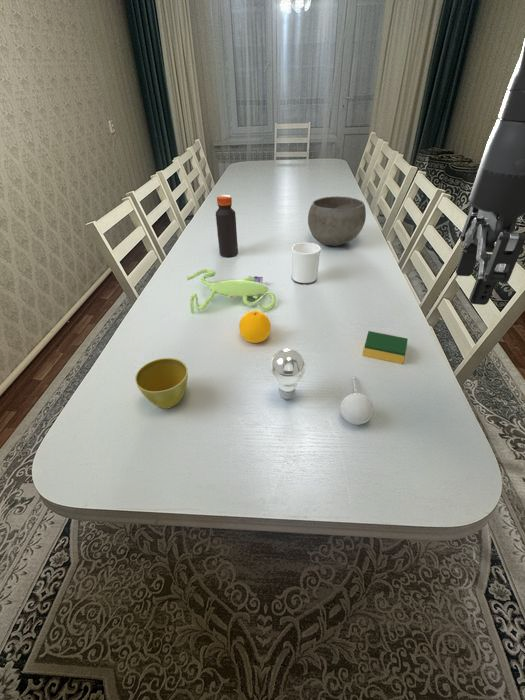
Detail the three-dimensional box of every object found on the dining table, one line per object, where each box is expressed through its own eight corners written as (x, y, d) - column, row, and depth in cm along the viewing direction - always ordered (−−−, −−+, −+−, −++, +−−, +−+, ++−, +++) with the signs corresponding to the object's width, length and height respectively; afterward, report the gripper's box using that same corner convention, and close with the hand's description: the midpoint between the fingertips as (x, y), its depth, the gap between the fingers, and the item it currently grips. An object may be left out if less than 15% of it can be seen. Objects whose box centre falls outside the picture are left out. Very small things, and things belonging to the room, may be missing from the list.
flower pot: (171, 376, 80) (165, 351, 76) (202, 396, 75) (198, 370, 71) (133, 402, 74) (124, 376, 70) (164, 426, 69) (156, 400, 65)
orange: (235, 333, 93) (233, 308, 88) (264, 326, 95) (263, 301, 90) (245, 350, 87) (244, 325, 82) (275, 343, 89) (276, 317, 84)
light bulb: (267, 388, 77) (266, 343, 69) (298, 383, 77) (301, 339, 70) (273, 412, 71) (273, 367, 64) (307, 407, 72) (311, 361, 65)
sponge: (404, 349, 86) (407, 338, 84) (402, 364, 82) (405, 353, 80) (366, 341, 89) (368, 330, 87) (362, 355, 84) (364, 345, 82)
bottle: (235, 258, 129) (231, 200, 116) (217, 257, 130) (211, 199, 117) (240, 250, 134) (236, 194, 122) (222, 249, 135) (217, 193, 123)
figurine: (191, 283, 115) (188, 267, 111) (274, 281, 114) (274, 265, 111) (180, 314, 100) (177, 297, 97) (276, 312, 100) (276, 295, 96)
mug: (309, 288, 110) (311, 256, 104) (285, 280, 115) (285, 249, 108) (326, 274, 117) (329, 244, 111) (303, 267, 121) (305, 238, 115)
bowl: (317, 229, 149) (320, 191, 140) (367, 236, 142) (373, 197, 133) (298, 247, 135) (300, 206, 126) (353, 256, 128) (359, 213, 118)
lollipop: (345, 391, 80) (347, 434, 67) (335, 370, 78) (335, 410, 65) (372, 382, 78) (380, 425, 65) (362, 360, 76) (368, 400, 63)
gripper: (582, 181, 36) (514, 317, 46) (529, 153, 47) (484, 268, 57) (500, 179, 37) (452, 312, 47) (467, 152, 48) (433, 265, 58)
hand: (469, 288), depth 52 cm, fingers open, 8 cm apart
